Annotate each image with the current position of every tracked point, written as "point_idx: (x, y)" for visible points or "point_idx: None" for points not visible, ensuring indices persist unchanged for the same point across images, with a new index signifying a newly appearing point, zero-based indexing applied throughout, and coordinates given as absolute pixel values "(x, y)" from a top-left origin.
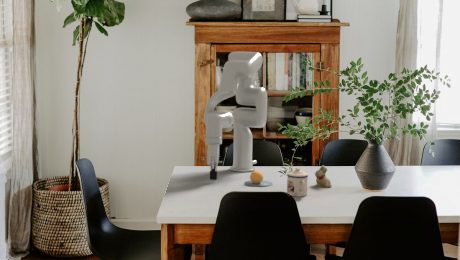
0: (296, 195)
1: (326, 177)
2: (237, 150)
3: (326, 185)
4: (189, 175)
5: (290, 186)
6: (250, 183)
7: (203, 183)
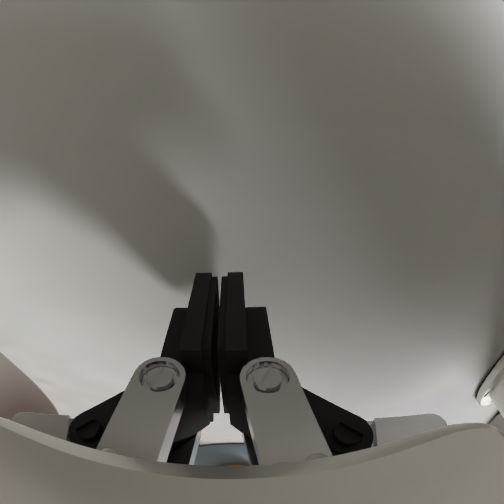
0: None
1: None
2: None
3: None
4: (500, 67)
5: None
6: (224, 458)
7: (161, 181)
